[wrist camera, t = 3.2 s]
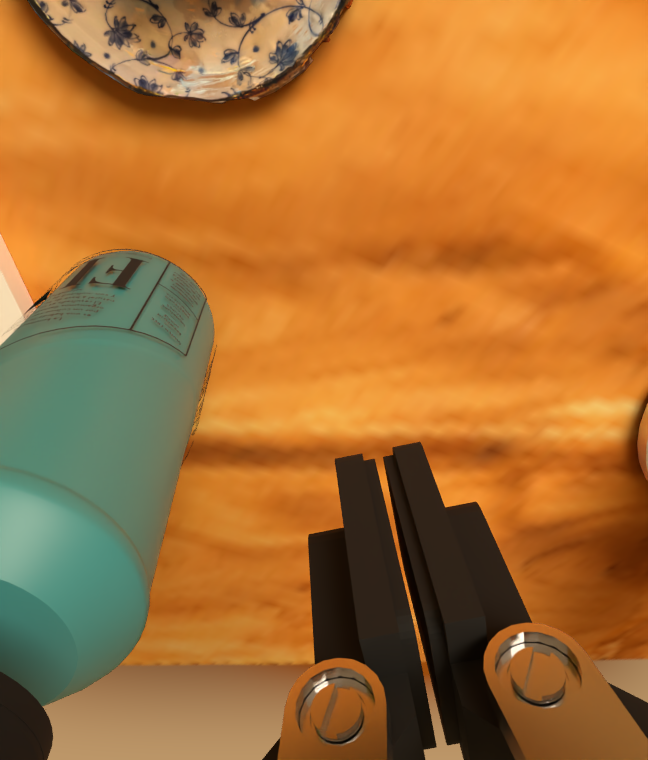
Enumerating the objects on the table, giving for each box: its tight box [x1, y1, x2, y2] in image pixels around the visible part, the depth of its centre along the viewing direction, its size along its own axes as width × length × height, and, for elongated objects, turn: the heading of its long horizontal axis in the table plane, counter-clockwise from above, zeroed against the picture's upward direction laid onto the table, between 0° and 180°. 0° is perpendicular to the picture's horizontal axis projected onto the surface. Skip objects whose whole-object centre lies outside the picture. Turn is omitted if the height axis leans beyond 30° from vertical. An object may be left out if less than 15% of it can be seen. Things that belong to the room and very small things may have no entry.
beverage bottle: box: [0, 249, 217, 760], centre depth 16 cm, size 6×7×20 cm
